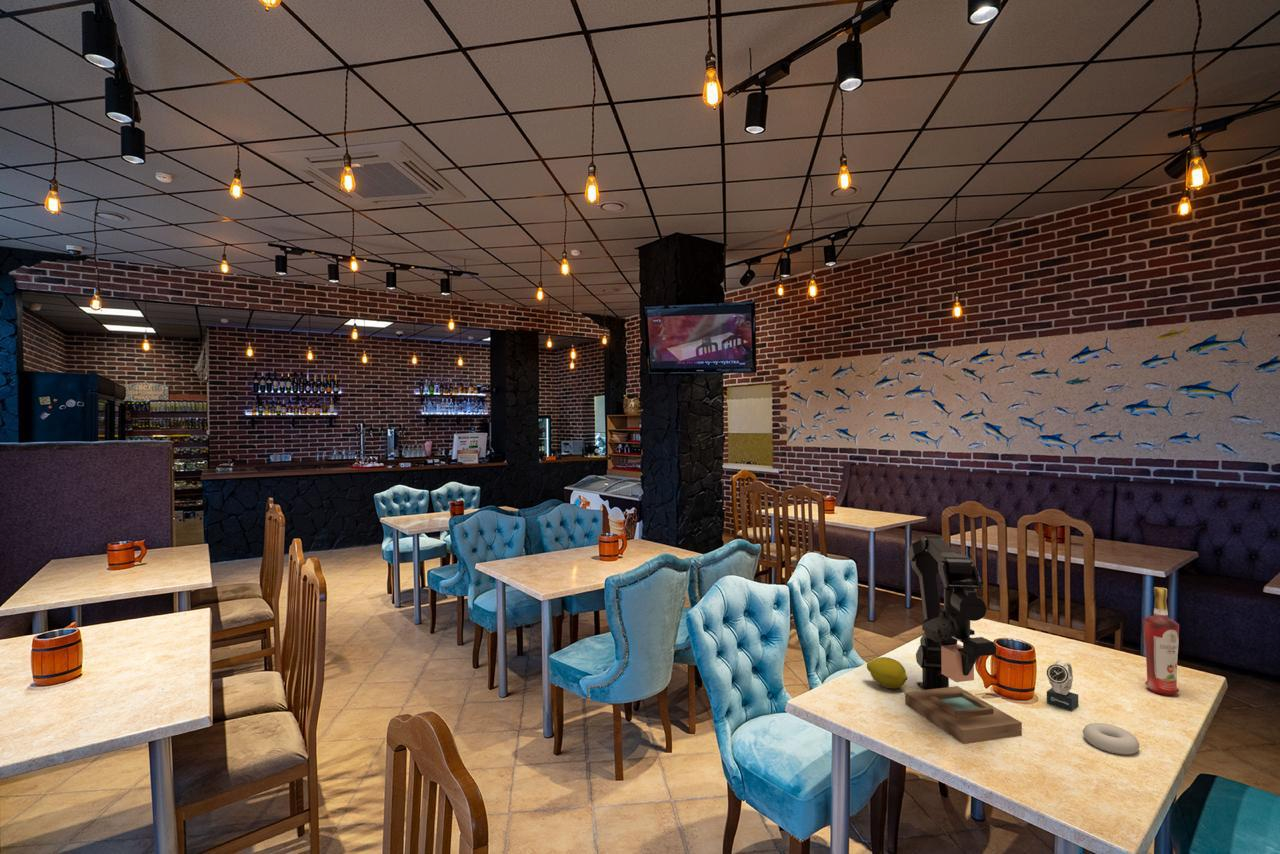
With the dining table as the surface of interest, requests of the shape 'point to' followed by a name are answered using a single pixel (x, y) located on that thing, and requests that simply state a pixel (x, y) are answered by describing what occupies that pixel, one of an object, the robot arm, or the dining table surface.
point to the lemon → (887, 672)
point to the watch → (1061, 686)
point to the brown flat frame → (963, 714)
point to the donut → (1111, 738)
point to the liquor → (1161, 647)
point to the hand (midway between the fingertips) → (957, 670)
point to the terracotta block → (954, 664)
